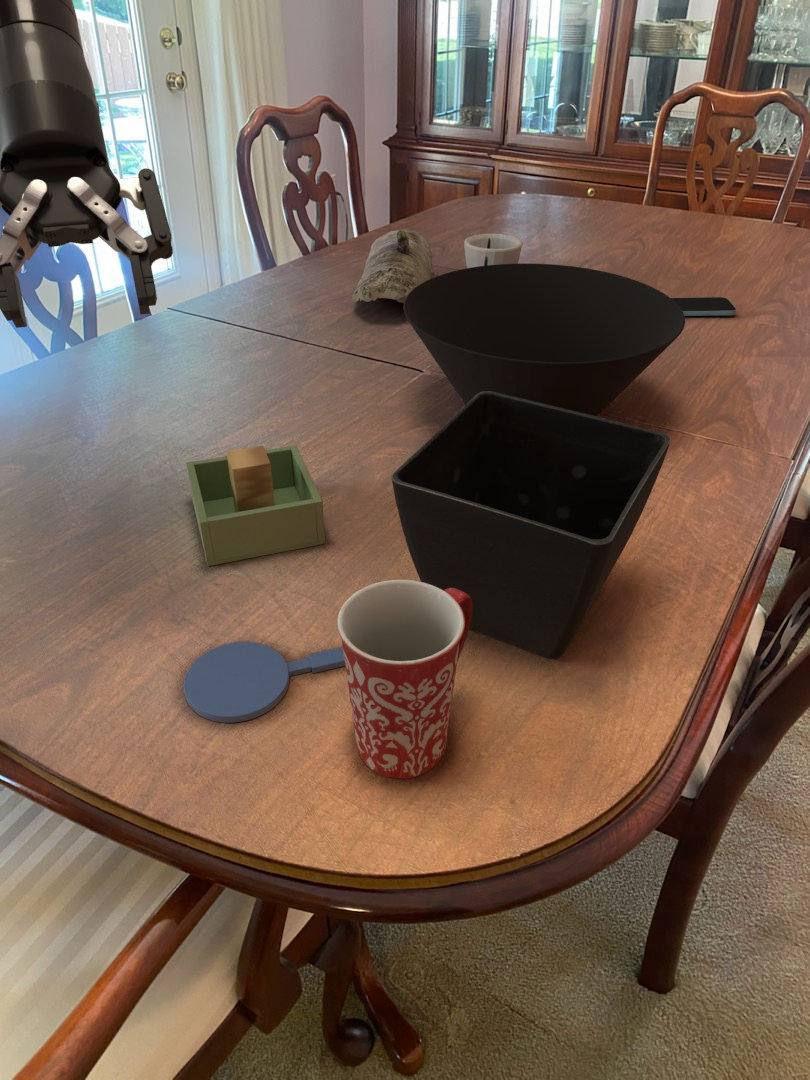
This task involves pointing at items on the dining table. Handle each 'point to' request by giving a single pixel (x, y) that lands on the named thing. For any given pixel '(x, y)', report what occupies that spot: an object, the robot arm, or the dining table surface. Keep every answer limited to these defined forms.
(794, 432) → the dining table surface
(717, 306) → the smartphone
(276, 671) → the blue ping pong paddle
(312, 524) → the green storage bin
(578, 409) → the bowl
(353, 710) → the mug
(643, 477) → the flower pot
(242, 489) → the wooden block
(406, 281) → the log
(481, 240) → the mug
